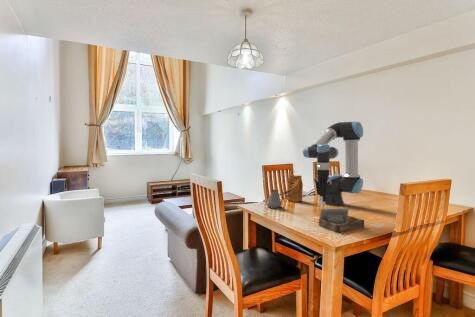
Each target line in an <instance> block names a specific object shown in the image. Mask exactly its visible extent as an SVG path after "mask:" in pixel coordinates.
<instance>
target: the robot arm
mask: <svg viewBox="0 0 475 317" xmlns="http://www.w3.org/2000/svg"><path fill="white" fill-rule="evenodd" d="M363 128H364V127H363V125H362V123H361V122H359V121H344V122H343V121H342V122H340V121H339V122H336V123H334V124H332V125H330V126H328V127H327V128H326V129H325V130H324V131H323V134H322V135H321V136H319V137H318V139H316V141H314V142H313V143H312V144H311V145H310V146H305V147H304V148H303V150H302V154H303V157H304V158H305V159H306V158H308V159H316V168H317V169H316V178H314V183H315V188H316V193H317V195H319V202H320V207H321V208H323V207H326V205H328V206H337V207H338V206H344V204H345V203H344V199H343V195H342V194H343V193H350V194H360V192H362V189H363V186H364V179H363V178H361V175H360V174H359V163H358V161H359V141H360V140H361V138H363V136H364V129H363ZM339 138H341V139H342V138H343V139H342V140H343V142H344V144H345V145H344V146H345V152H344V153H345V156H344V157H345V172H344V174H343V175H342V174H331V175H330V168H331V167H330V164H331V163H330V161H331V159H335V158H337V157H338V156H339V150H338V148H337V147H334V146H330V144H329V143H330V142H332V141H333V140H335V139H339ZM342 192H343V193H342Z"/></svg>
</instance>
